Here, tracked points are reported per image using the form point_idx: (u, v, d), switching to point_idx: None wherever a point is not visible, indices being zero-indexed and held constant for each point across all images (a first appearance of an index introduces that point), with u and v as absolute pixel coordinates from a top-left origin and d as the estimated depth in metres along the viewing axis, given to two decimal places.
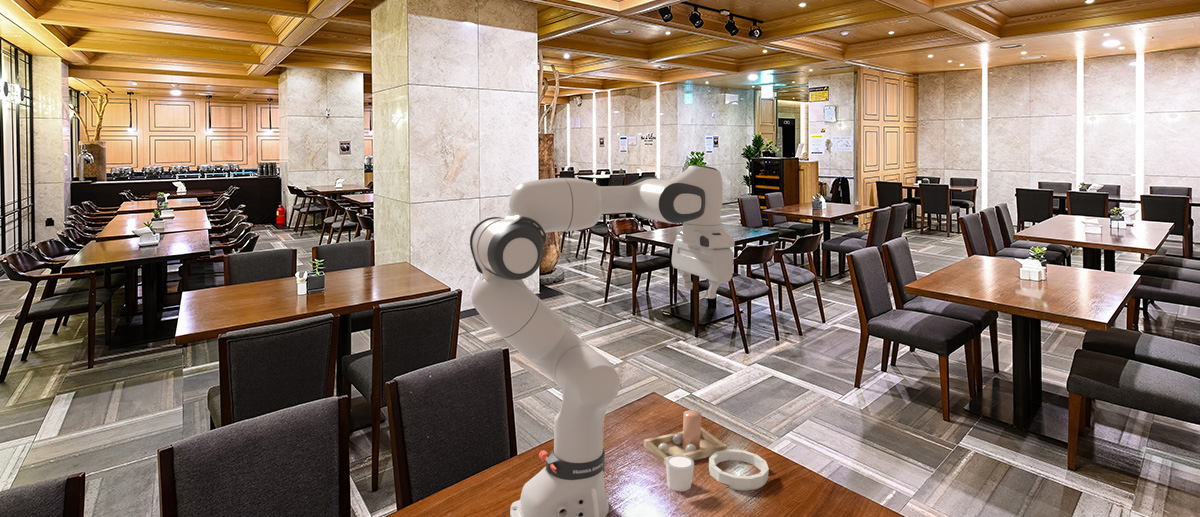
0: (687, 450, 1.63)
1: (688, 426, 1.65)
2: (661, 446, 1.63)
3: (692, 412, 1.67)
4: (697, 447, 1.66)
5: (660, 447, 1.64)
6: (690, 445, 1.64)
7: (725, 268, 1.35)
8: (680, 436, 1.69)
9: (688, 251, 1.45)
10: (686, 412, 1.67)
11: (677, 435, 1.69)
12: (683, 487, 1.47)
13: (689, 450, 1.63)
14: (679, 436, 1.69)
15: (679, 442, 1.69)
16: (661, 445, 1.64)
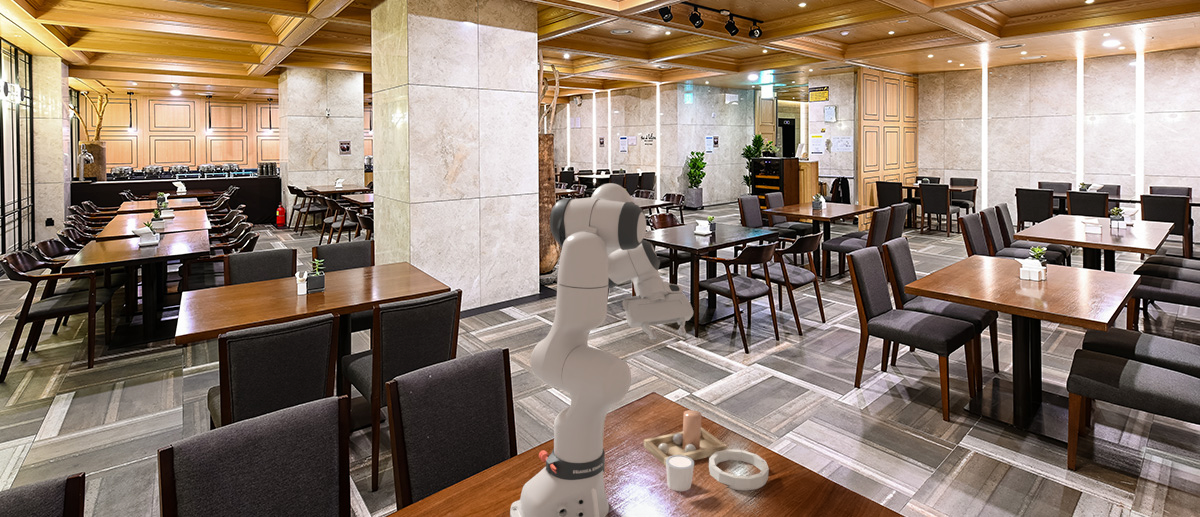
0: (686, 451, 1.63)
1: (688, 426, 1.65)
2: (661, 446, 1.63)
3: (692, 412, 1.67)
4: (697, 447, 1.66)
5: (660, 447, 1.64)
6: (689, 445, 1.64)
7: None
8: (680, 436, 1.69)
9: (650, 304, 1.74)
10: (686, 412, 1.67)
11: (677, 435, 1.69)
12: (683, 487, 1.47)
13: (688, 450, 1.63)
14: (679, 436, 1.69)
15: (679, 442, 1.69)
16: (661, 445, 1.64)
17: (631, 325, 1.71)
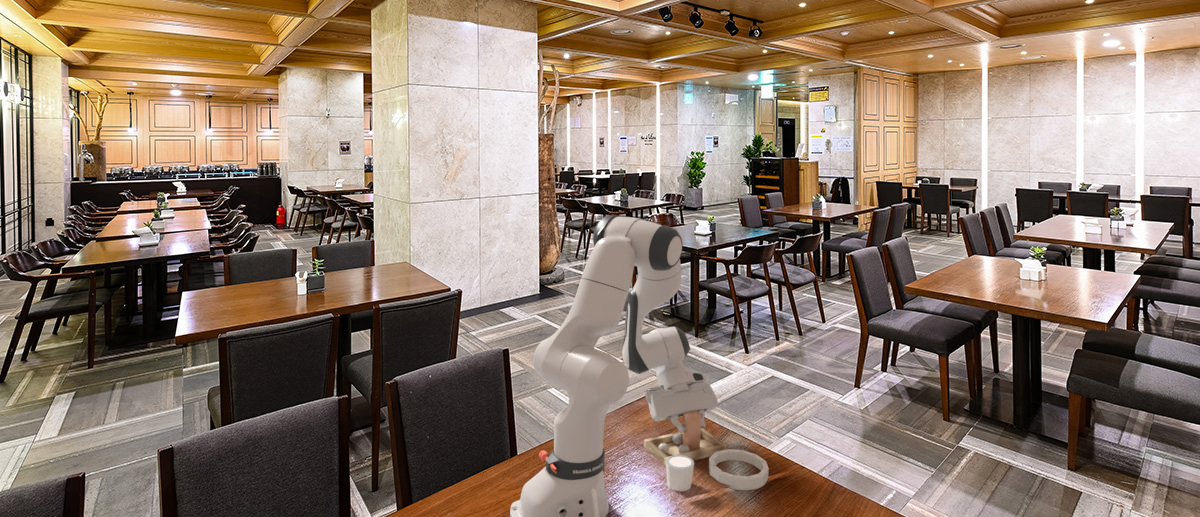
0: None
1: (688, 426, 1.65)
2: (661, 446, 1.63)
3: (692, 412, 1.67)
4: (697, 447, 1.66)
5: (660, 447, 1.64)
6: (679, 450, 1.64)
7: None
8: (680, 436, 1.69)
9: (673, 396, 1.69)
10: (686, 412, 1.67)
11: (677, 435, 1.69)
12: (683, 487, 1.47)
13: None
14: (679, 436, 1.69)
15: (679, 442, 1.69)
16: (661, 445, 1.64)
17: (655, 419, 1.65)
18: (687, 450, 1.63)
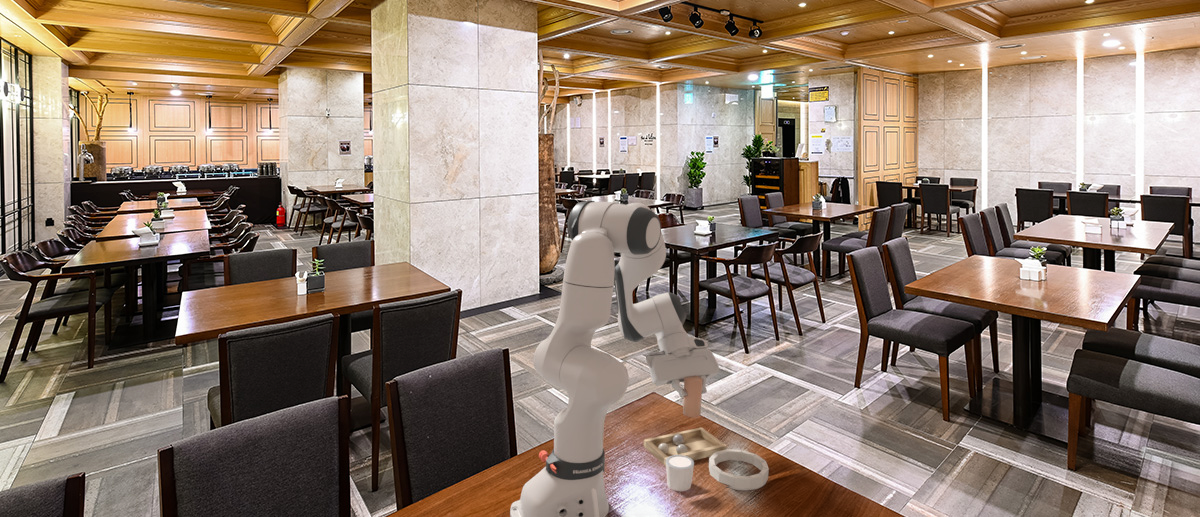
0: None
1: (689, 390, 1.63)
2: (661, 446, 1.63)
3: (693, 377, 1.65)
4: (698, 412, 1.64)
5: (660, 447, 1.64)
6: (677, 452, 1.64)
7: None
8: (680, 438, 1.68)
9: (674, 361, 1.67)
10: (687, 377, 1.65)
11: (677, 437, 1.69)
12: (683, 487, 1.47)
13: None
14: (679, 438, 1.68)
15: (679, 444, 1.68)
16: (661, 445, 1.64)
17: (656, 383, 1.63)
18: (684, 449, 1.63)
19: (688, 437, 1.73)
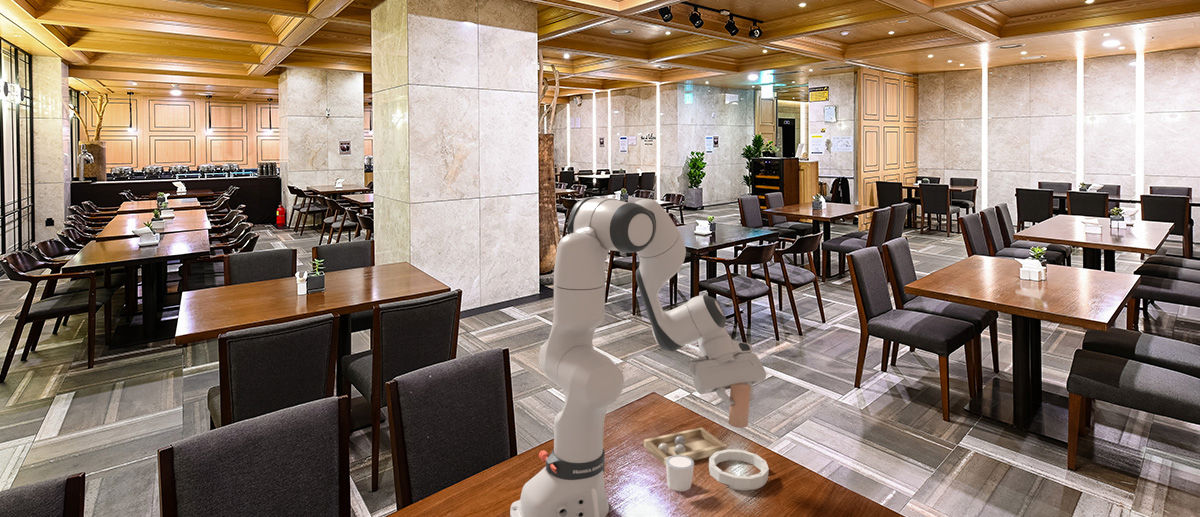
0: None
1: (737, 399, 1.51)
2: (661, 446, 1.63)
3: (740, 384, 1.53)
4: (746, 422, 1.52)
5: (660, 447, 1.64)
6: (675, 453, 1.64)
7: None
8: (683, 443, 1.67)
9: (719, 367, 1.55)
10: (733, 384, 1.53)
11: (680, 441, 1.67)
12: (683, 487, 1.47)
13: None
14: (682, 443, 1.67)
15: None
16: (661, 445, 1.64)
17: (700, 391, 1.52)
18: (681, 449, 1.63)
19: (688, 437, 1.73)
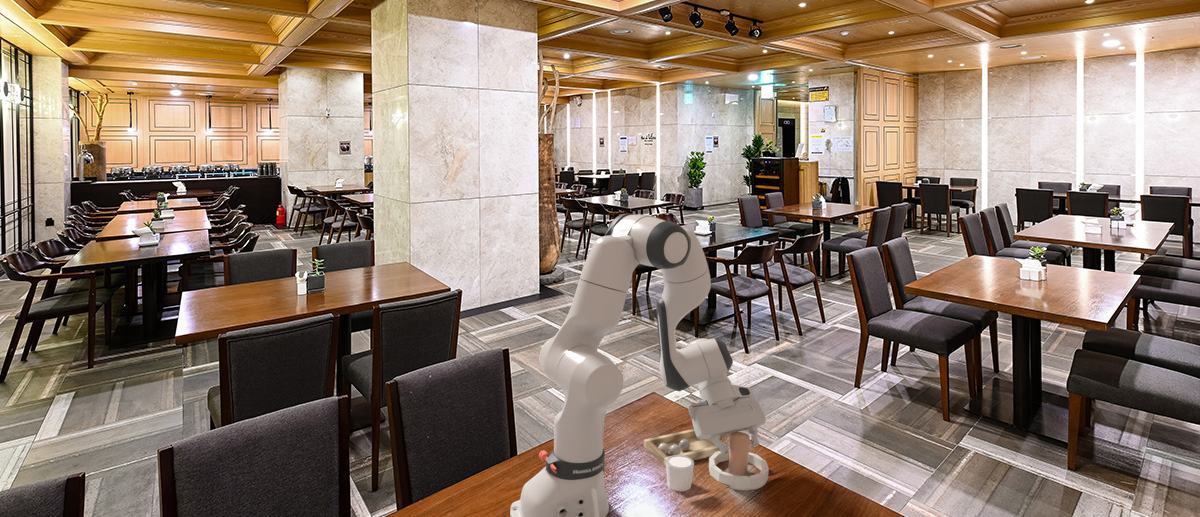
0: (679, 453, 1.63)
1: (736, 450, 1.53)
2: (661, 446, 1.63)
3: (739, 434, 1.55)
4: (745, 472, 1.54)
5: (660, 447, 1.64)
6: None
7: None
8: None
9: (719, 412, 1.57)
10: (733, 434, 1.55)
11: (683, 450, 1.66)
12: (683, 487, 1.47)
13: None
14: None
15: None
16: (661, 445, 1.64)
17: (700, 437, 1.53)
18: (674, 450, 1.62)
19: (688, 437, 1.73)
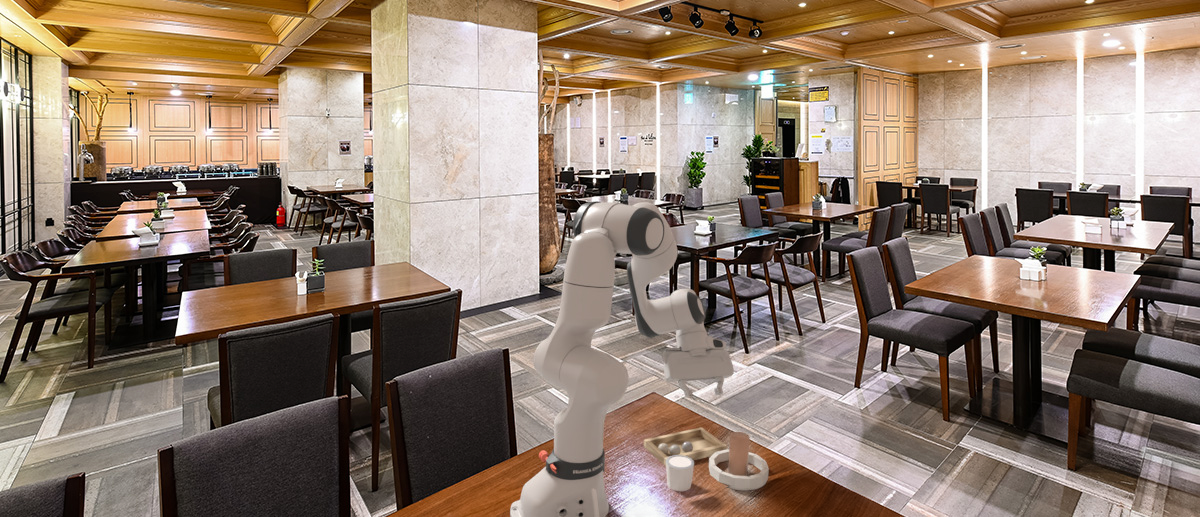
0: (679, 453, 1.63)
1: (736, 450, 1.53)
2: (660, 446, 1.63)
3: (739, 434, 1.55)
4: (745, 472, 1.54)
5: (660, 447, 1.63)
6: None
7: None
8: None
9: (690, 359, 1.67)
10: (733, 434, 1.55)
11: None
12: (683, 487, 1.47)
13: None
14: None
15: None
16: (661, 445, 1.64)
17: (668, 380, 1.64)
18: (674, 451, 1.62)
19: (688, 437, 1.73)
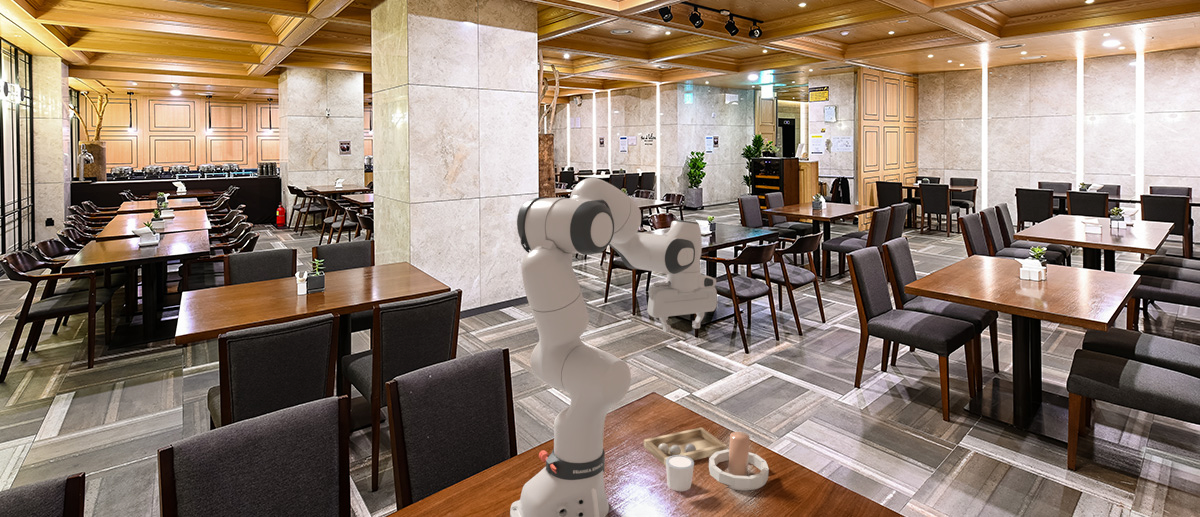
0: None
1: (736, 450, 1.53)
2: (661, 446, 1.63)
3: (739, 434, 1.55)
4: (745, 472, 1.54)
5: (660, 447, 1.63)
6: None
7: None
8: None
9: (676, 297, 1.63)
10: (733, 434, 1.55)
11: None
12: (683, 487, 1.47)
13: None
14: None
15: (688, 444, 1.64)
16: (661, 445, 1.64)
17: (650, 315, 1.62)
18: (674, 451, 1.62)
19: (688, 437, 1.73)
